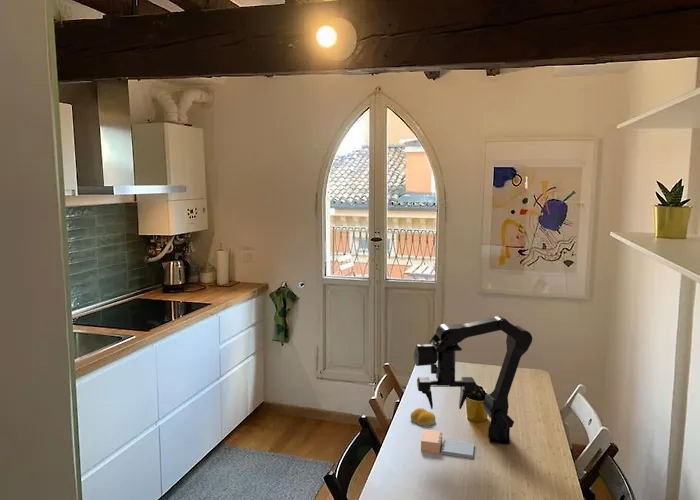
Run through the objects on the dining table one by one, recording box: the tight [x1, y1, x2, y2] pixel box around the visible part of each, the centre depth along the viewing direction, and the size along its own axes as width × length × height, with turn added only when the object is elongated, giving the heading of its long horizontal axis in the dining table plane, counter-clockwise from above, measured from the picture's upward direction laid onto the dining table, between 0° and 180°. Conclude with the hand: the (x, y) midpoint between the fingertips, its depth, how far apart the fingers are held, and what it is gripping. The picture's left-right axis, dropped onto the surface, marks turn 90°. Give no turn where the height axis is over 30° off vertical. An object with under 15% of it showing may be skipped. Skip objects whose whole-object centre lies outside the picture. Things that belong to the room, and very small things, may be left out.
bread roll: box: [410, 407, 436, 426], centre depth 197 cm, size 8×9×4 cm
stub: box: [420, 429, 443, 454], centre depth 179 cm, size 6×8×4 cm
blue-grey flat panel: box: [440, 438, 475, 459], centre depth 177 cm, size 10×8×1 cm
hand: (445, 408), depth 179 cm, fingers open, 9 cm apart
